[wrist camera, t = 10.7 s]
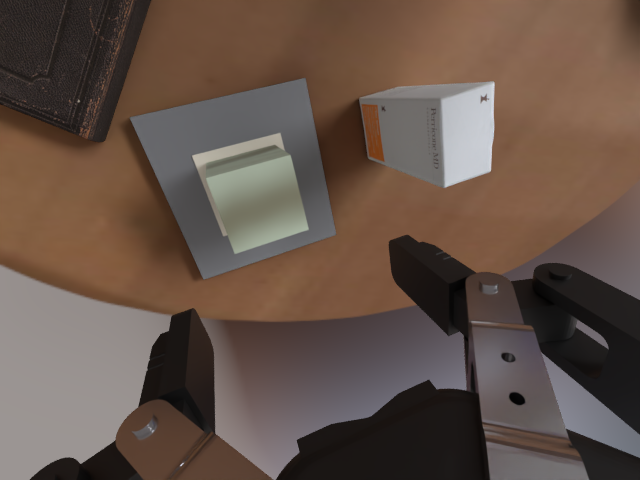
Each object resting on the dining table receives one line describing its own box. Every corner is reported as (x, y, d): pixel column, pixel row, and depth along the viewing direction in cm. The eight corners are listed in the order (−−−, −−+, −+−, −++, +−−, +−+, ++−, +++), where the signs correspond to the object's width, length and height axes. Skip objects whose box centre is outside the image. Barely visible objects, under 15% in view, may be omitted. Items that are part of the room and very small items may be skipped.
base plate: (132, 116, 24) (129, 117, 23) (302, 78, 27) (305, 77, 26) (203, 274, 31) (203, 280, 30) (332, 231, 34) (336, 235, 33)
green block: (206, 162, 26) (205, 178, 21) (274, 144, 27) (290, 154, 22) (229, 226, 29) (234, 253, 23) (291, 207, 30) (308, 229, 25)
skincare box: (356, 97, 29) (439, 95, 18) (396, 86, 30) (498, 78, 19) (366, 161, 32) (443, 190, 21) (402, 149, 32) (494, 171, 22)
